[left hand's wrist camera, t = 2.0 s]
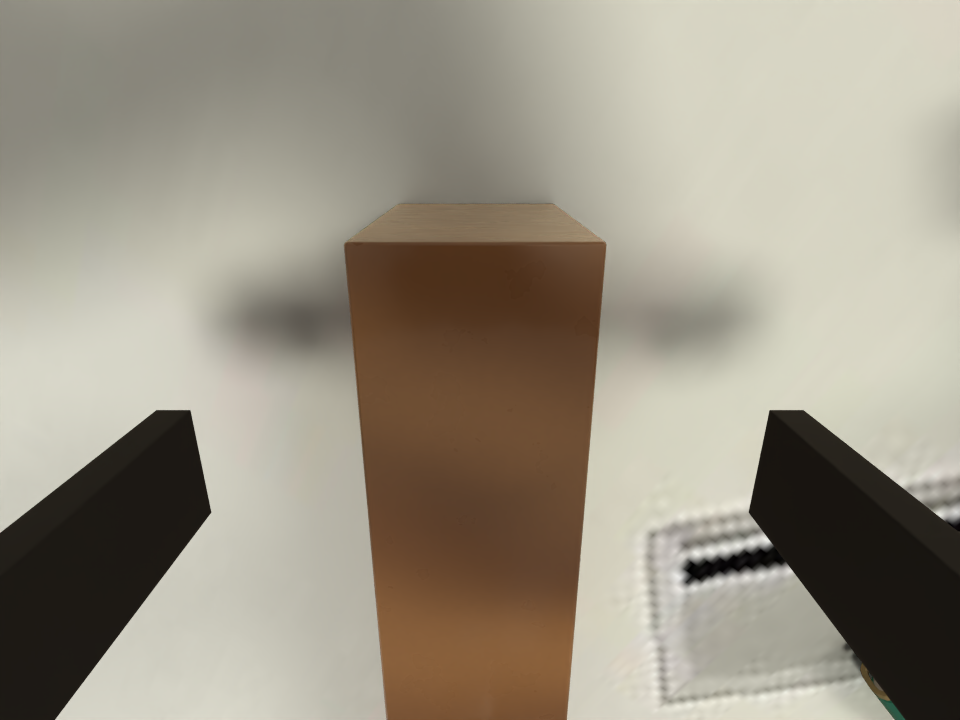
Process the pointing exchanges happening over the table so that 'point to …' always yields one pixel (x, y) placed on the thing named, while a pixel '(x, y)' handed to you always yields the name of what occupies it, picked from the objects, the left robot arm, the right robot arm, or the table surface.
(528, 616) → the post
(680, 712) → the table surface
